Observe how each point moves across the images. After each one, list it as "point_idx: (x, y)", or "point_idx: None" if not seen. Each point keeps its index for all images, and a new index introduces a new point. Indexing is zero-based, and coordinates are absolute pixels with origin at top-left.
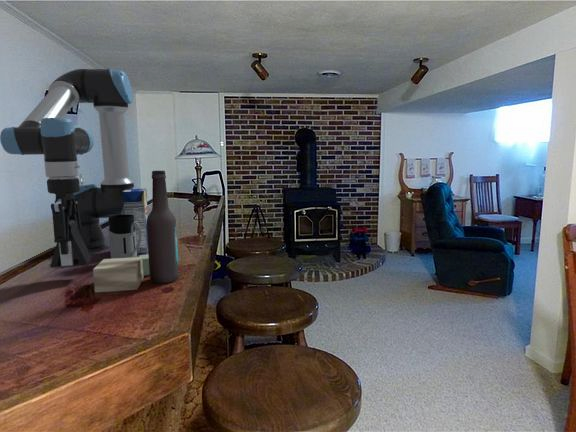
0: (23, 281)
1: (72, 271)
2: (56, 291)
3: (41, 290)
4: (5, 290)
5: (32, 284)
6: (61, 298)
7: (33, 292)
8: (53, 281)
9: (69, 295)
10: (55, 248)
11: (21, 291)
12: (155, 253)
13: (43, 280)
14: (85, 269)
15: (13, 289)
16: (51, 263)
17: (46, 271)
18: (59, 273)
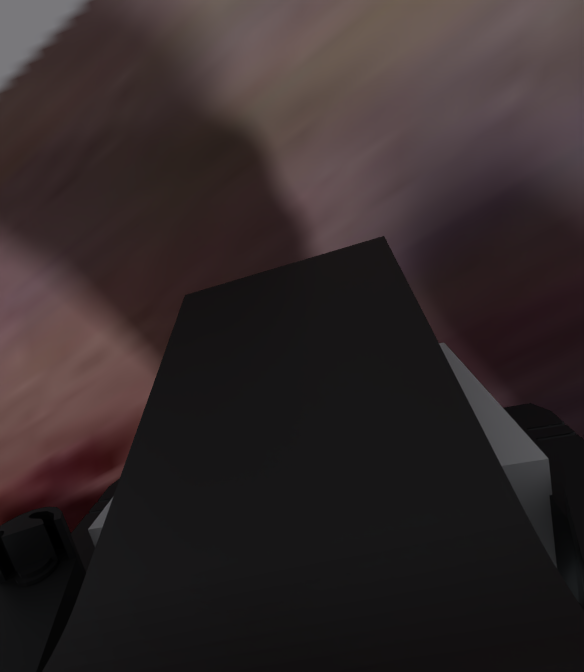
0: (273, 3)
1: (521, 243)
2: (98, 382)
3: (103, 283)
4: (73, 23)
5: (208, 135)
6: (6, 467)
7: (64, 256)
8: (278, 247)
9: (51, 483)
10: (143, 416)
11: (70, 162)
12: None
13: (299, 156)
14: (566, 315)
15: (98, 70)
16: (183, 312)
17: (548, 7)
18: (474, 169)
